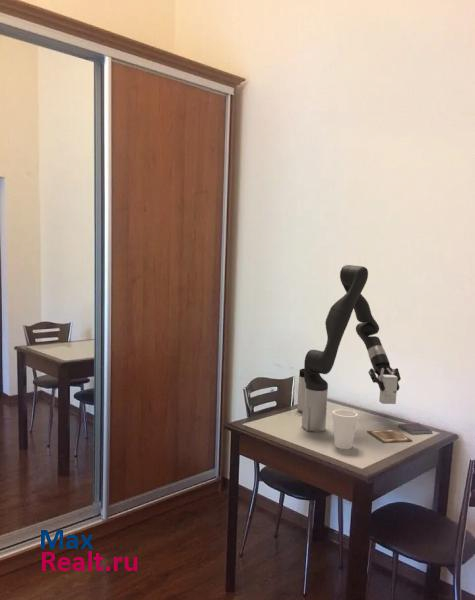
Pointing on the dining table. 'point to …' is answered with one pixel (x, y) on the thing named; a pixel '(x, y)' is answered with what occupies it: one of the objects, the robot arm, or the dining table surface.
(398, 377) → the robot arm
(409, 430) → the ink pad
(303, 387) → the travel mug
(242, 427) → the dining table surface
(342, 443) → the foam cup
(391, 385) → the skincare box
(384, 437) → the marked board
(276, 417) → the dining table surface
